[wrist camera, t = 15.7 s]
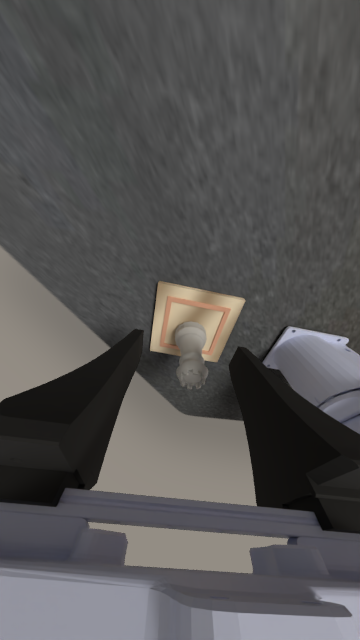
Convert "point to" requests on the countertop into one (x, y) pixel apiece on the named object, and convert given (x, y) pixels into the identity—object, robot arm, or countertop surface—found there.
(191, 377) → the rook chess piece
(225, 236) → the countertop surface
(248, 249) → the countertop surface
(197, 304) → the marked board
